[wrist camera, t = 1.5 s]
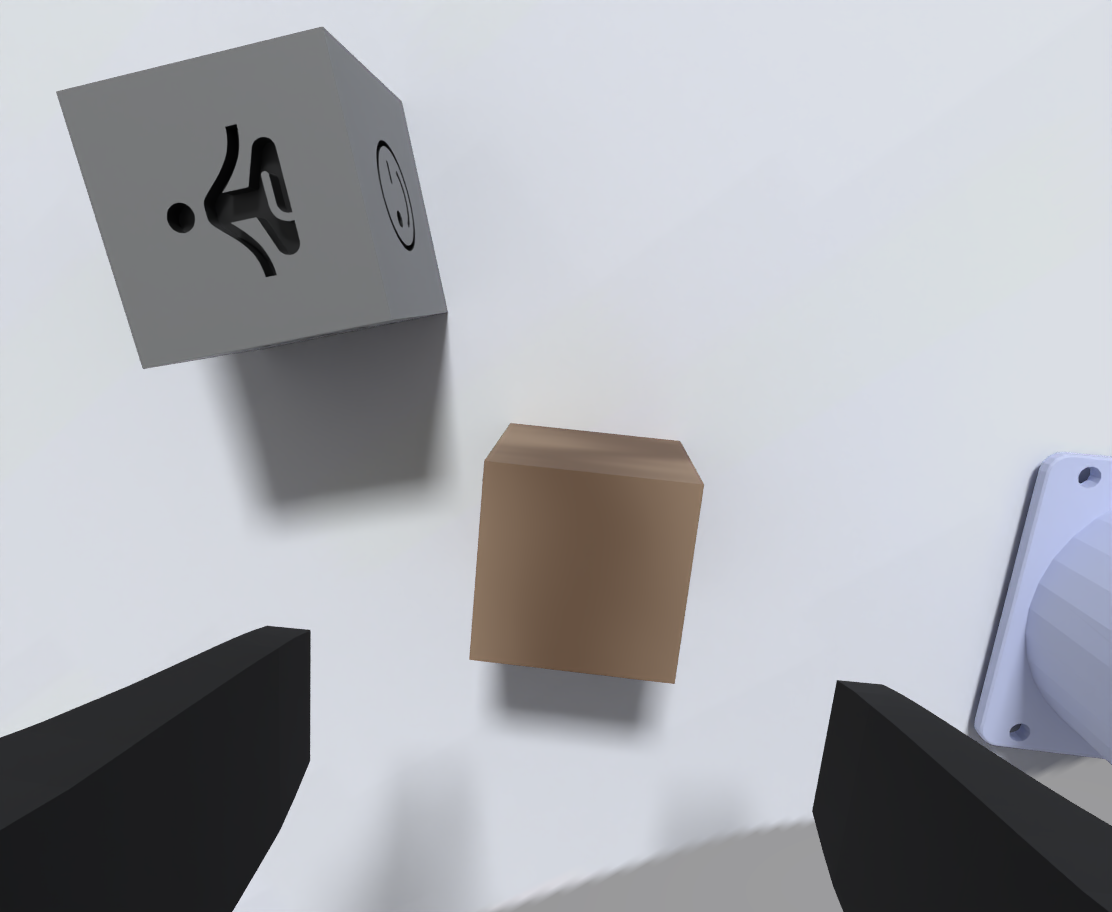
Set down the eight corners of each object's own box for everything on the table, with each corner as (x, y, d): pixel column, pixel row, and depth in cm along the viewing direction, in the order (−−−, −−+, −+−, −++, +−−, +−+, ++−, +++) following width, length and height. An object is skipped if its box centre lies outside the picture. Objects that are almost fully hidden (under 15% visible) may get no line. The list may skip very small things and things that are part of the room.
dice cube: (448, 312, 18) (392, 319, 13) (263, 348, 19) (142, 368, 14) (402, 101, 17) (322, 26, 12) (207, 147, 18) (56, 91, 13)
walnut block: (679, 440, 18) (704, 484, 14) (657, 598, 19) (674, 684, 15) (511, 422, 19) (484, 460, 14) (497, 579, 20) (469, 659, 15)
